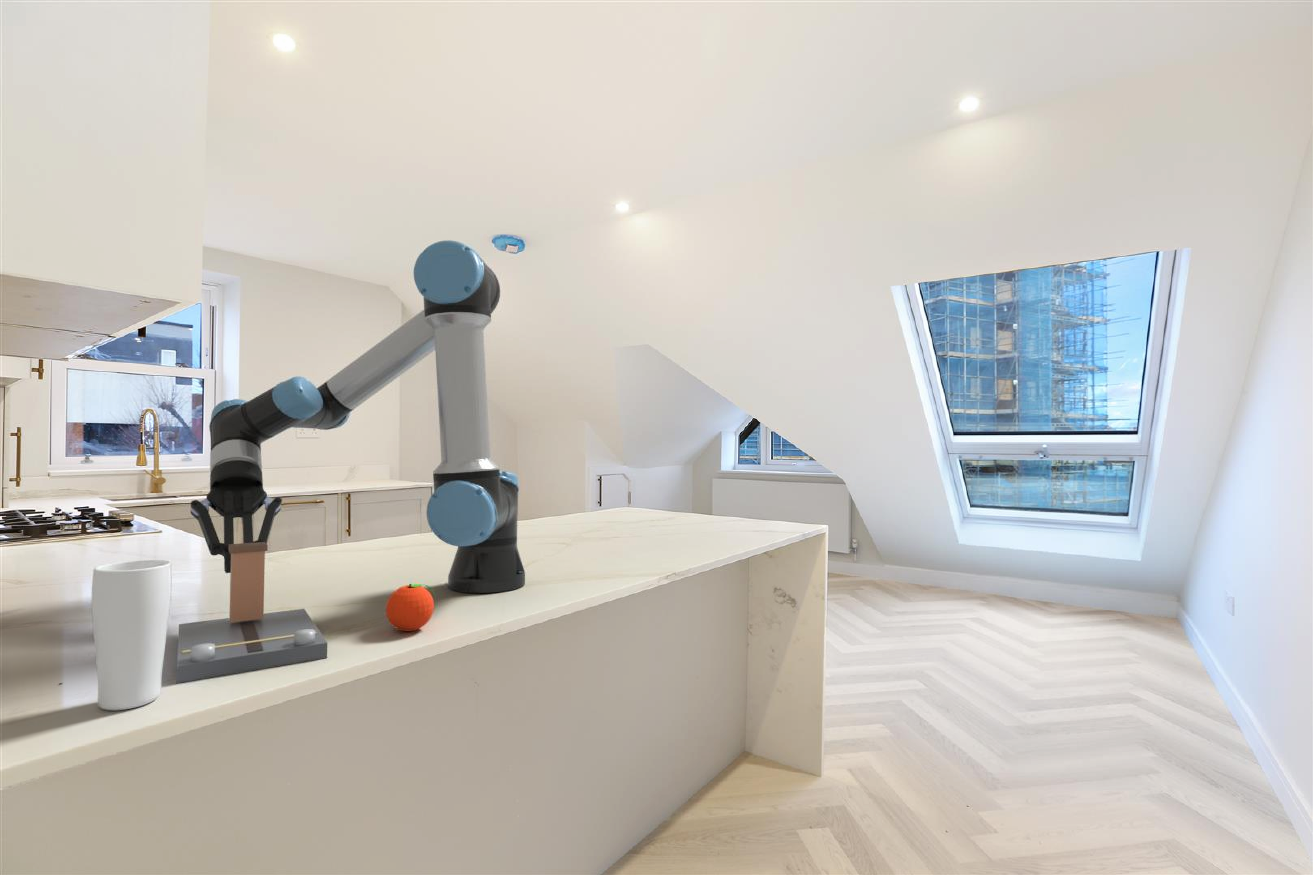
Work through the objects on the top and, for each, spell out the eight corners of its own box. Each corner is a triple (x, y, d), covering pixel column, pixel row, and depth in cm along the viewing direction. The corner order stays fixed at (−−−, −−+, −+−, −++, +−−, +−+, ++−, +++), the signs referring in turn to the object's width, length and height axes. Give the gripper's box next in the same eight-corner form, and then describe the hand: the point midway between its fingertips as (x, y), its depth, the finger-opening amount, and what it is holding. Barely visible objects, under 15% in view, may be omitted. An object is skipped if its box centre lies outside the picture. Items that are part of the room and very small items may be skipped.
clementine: (420, 619, 103) (421, 576, 103) (448, 627, 99) (449, 581, 99) (375, 631, 96) (376, 584, 96) (404, 640, 93) (405, 591, 93)
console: (303, 621, 101) (304, 599, 101) (327, 657, 84) (327, 631, 84) (178, 637, 92) (179, 613, 92) (176, 683, 75) (177, 653, 75)
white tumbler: (76, 707, 68) (80, 566, 68) (150, 686, 74) (153, 557, 74) (106, 720, 65) (110, 573, 65) (181, 697, 71) (184, 563, 71)
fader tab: (263, 612, 97) (264, 541, 97) (265, 618, 94) (267, 545, 94) (226, 617, 94) (228, 544, 94) (228, 623, 91) (230, 548, 91)
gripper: (278, 485, 116) (286, 596, 102) (189, 487, 108) (186, 607, 95) (282, 457, 112) (291, 569, 98) (190, 457, 104) (186, 578, 90)
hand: (239, 587), depth 96 cm, fingers closed
